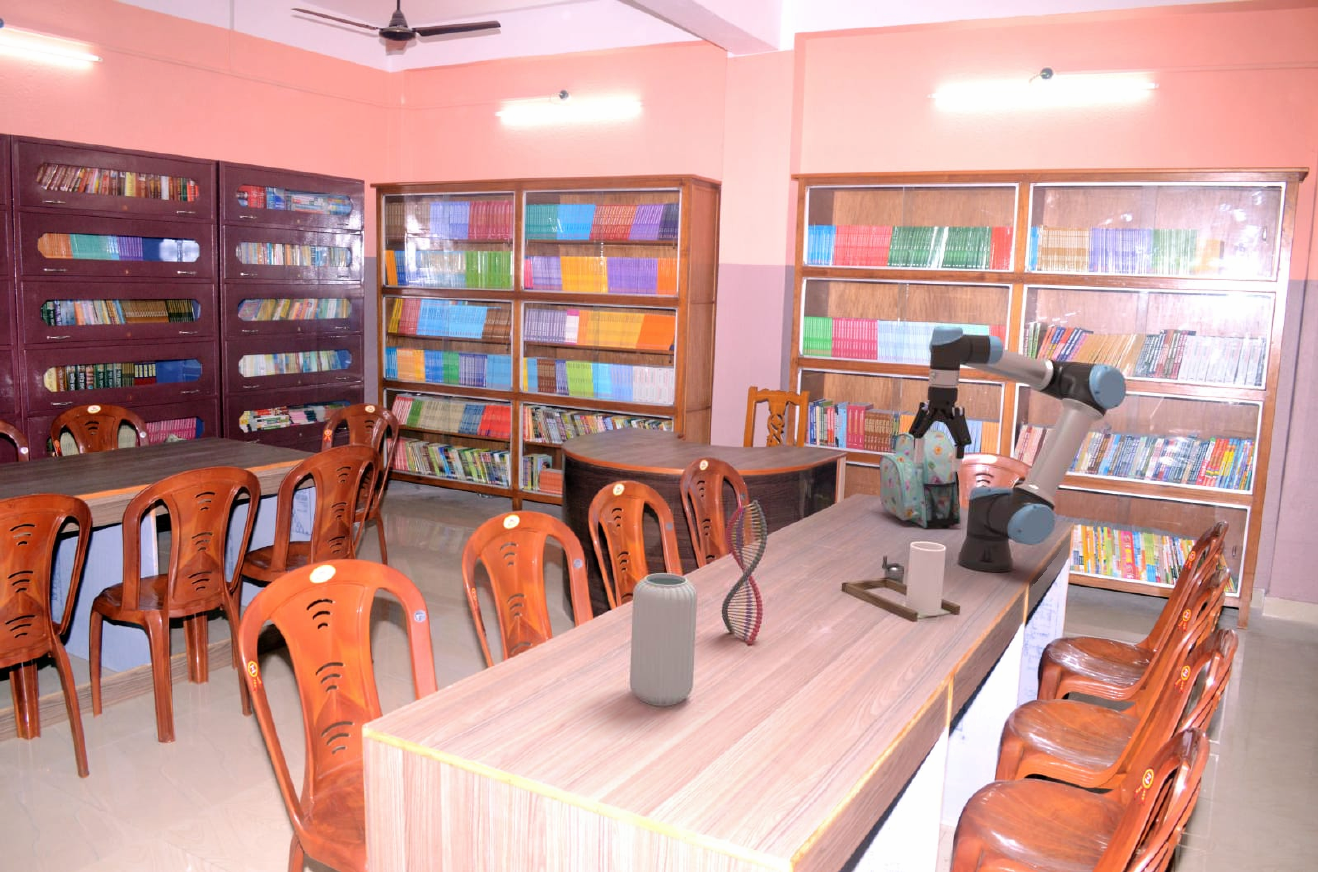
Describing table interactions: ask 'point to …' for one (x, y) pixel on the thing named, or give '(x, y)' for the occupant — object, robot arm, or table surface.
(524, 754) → the table surface
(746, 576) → the dna model
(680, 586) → the vase
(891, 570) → the winch drum
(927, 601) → the cup
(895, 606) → the frame
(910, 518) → the backpack
